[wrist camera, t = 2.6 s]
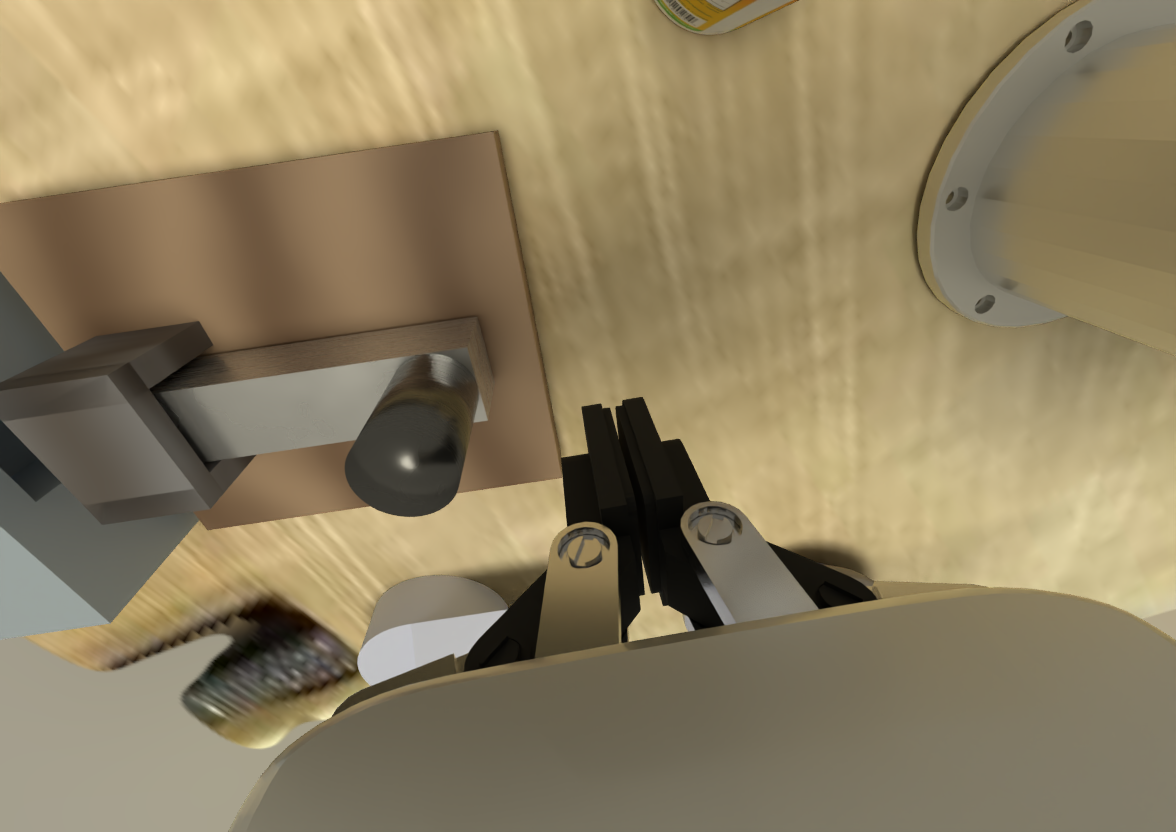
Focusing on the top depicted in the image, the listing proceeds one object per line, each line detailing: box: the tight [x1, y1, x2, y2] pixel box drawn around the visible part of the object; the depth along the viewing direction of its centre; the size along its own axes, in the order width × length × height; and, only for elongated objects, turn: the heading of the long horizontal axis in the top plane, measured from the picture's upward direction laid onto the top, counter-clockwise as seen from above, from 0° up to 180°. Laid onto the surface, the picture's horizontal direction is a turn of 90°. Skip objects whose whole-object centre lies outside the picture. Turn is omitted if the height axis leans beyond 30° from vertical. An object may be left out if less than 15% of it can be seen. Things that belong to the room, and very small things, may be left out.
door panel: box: [0, 131, 562, 530], centre depth 18 cm, size 18×15×6 cm
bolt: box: [149, 316, 495, 517], centre depth 16 cm, size 12×3×8 cm, turn 97°
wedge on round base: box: [358, 575, 508, 686], centre depth 29 cm, size 9×7×13 cm
